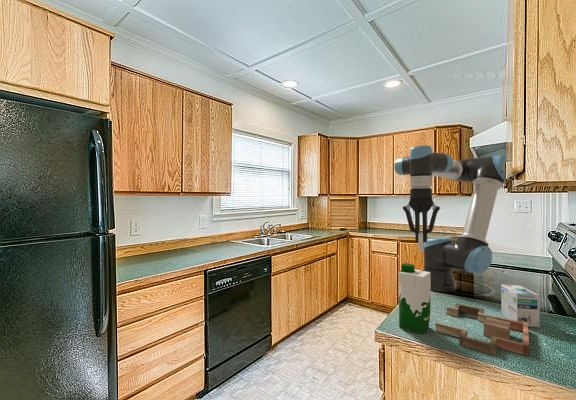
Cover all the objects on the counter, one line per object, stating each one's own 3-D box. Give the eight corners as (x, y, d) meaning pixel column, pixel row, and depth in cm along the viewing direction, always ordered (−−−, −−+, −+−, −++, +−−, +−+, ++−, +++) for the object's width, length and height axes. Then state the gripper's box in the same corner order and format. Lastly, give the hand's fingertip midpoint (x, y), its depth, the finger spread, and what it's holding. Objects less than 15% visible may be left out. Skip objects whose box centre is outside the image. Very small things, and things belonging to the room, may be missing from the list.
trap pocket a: (456, 310, 109) (456, 303, 109) (483, 316, 103) (483, 309, 103) (454, 314, 105) (454, 307, 105) (482, 320, 99) (482, 313, 99)
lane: (447, 312, 106) (447, 306, 106) (527, 331, 92) (527, 323, 92) (435, 331, 92) (435, 323, 92) (528, 356, 77) (529, 346, 77)
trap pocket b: (462, 338, 87) (462, 329, 87) (496, 347, 82) (496, 338, 82) (459, 345, 83) (459, 336, 83) (495, 355, 78) (495, 345, 78)
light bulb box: (540, 328, 94) (540, 294, 94) (516, 326, 95) (517, 293, 95) (521, 314, 105) (521, 284, 104) (500, 313, 106) (500, 283, 106)
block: (486, 329, 93) (486, 317, 93) (510, 335, 89) (510, 322, 89) (483, 336, 89) (483, 323, 89) (508, 342, 85) (508, 329, 85)
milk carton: (404, 319, 101) (405, 261, 100) (433, 326, 95) (433, 265, 95) (395, 327, 94) (395, 266, 94) (425, 336, 88) (425, 270, 88)
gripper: (400, 188, 109) (400, 250, 110) (438, 187, 102) (439, 254, 102) (405, 188, 115) (405, 247, 116) (441, 187, 108) (442, 250, 108)
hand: (421, 250), depth 109 cm, fingers closed
